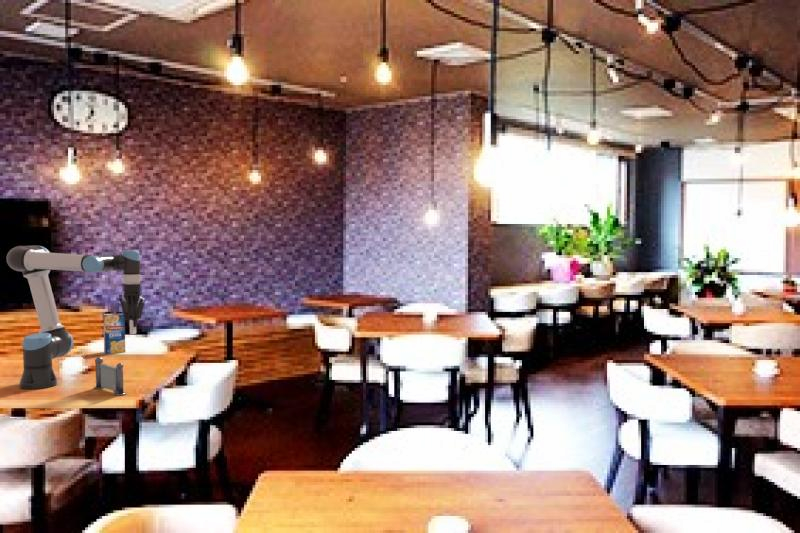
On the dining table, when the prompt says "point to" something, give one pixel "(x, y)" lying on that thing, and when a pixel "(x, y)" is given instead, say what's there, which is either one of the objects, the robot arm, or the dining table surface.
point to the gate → (108, 376)
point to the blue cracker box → (114, 333)
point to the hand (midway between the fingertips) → (133, 333)
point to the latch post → (119, 381)
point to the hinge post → (98, 372)
